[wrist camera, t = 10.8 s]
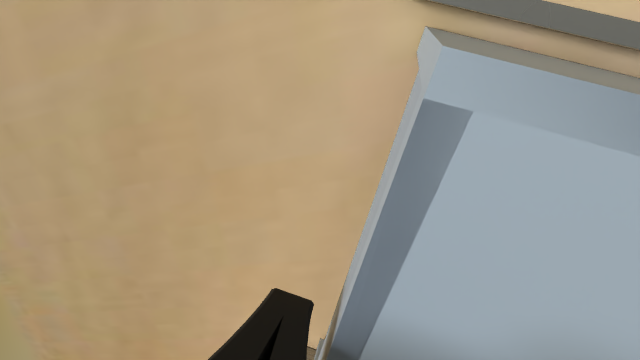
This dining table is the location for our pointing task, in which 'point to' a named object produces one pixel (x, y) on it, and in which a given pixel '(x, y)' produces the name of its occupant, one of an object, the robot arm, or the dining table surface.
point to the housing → (501, 215)
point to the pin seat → (552, 26)
